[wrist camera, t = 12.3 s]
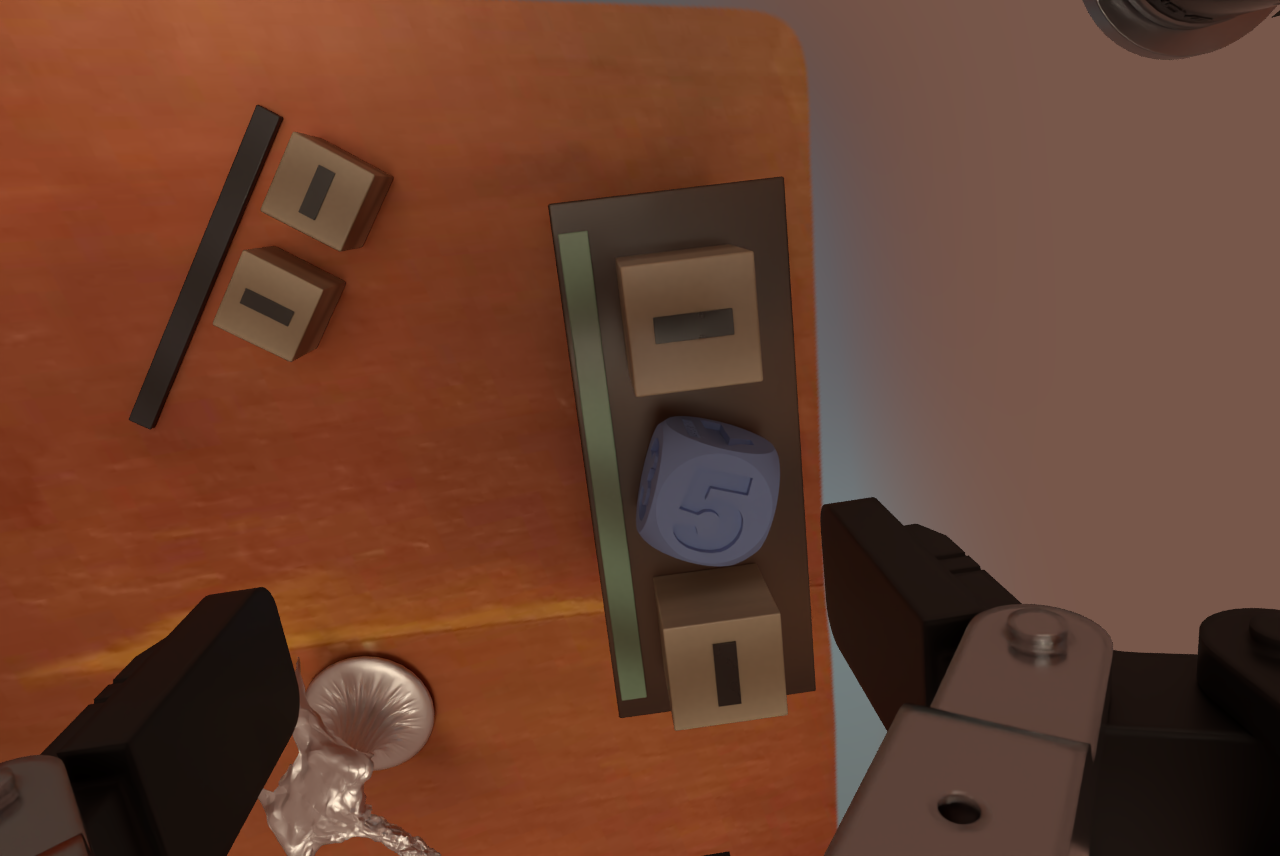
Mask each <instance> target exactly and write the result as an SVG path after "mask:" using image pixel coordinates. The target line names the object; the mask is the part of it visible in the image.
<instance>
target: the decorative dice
mask: <svg viewBox="0 0 1280 856" xmlns="http://www.w3.org/2000/svg"><path fill="white" fill-rule="evenodd" d="M779 484H780V463H779V457H778V454H777V451H776V449H775V448H774V446H773V445H772V444H771V443H770V442H769V441H767V440H766V439H764V438H763V437H761V436H759V435H757V434H754V433H752V432H750V431H747V430H745V429H742V428H739V427H736V426H733V425H730V424H726V423H722V422H719V421H714V420H710V419H704V418H698V417H690V416H674V417H670V418H668V419H666V420H664V421H663V422H661V423H660V424H658V425H657V427H656V429H655V431H654V433H653V436H652V438H651V441H650V444H649V448H648V451H647V455H646V458H645V463H644V467H643V471H642V476H641V481H640V487H639V494H638V501H637V511H636V527H637V531H638V532H639V534H640V535H641V537H642V538H643V539H644V540H645V541H646V542H647V543H648V544H649V545H651V546H652V547H654V548H655V549H657V550H659V551H661V552H663V553H665V554H667V555H669V556H672V557H674V558H677V559H680V560H683V561H686V562H690V563H694V564H699V565H706V566H731V565H735V564H737V563H739V562H741V561H744V560H745V559H747V558H749V557H750V556H752V555H753V554H755V553H756V552H757V551H758V550H759V549H760V548H761V547H762V545H763V543H764V541H765V540H766V537H767V535H768V533H769V530H770V527H771V524H772V521H773V518H774V514H775V510H776V505H777V500H778V493H779Z"/></svg>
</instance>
